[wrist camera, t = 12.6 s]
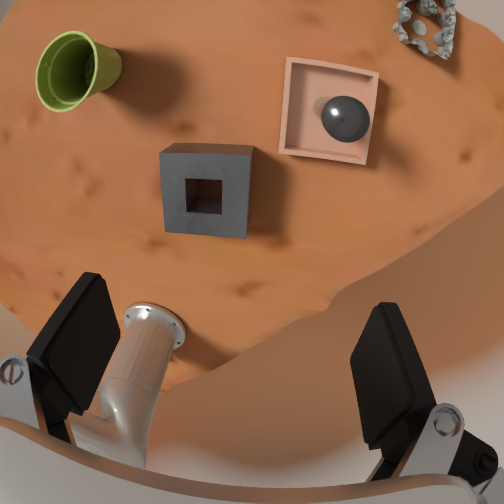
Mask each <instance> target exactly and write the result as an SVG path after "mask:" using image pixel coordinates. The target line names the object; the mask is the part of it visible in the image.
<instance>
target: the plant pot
mask: <svg viewBox="0 0 504 504" xmlns="http://www.w3.org/2000/svg"><path fill="white" fill-rule="evenodd" d="M89 64H90V65H91V66H90V69H89V74H88V66H89ZM121 71H122V59H121V57H120V55H119V54H118V52H117V51H116V50H115V49H113V48H110V47H107V46H104V45H102V44H99V43H96V42H94V41H93V39H92V38H91V37H90V36H89V35H87V34H86V33H83V32H80V31H70V32H66V33H63V34H61V35H60V36H58V37H57V38H55V39H54V40H53V41H52V42H51V43H50V44H49V45H48V46H47V47H46V49H45V50H44V52H43V54H42V56H41V58H40V60H39V63H38V66H37V70H36V88H37V93H38V96H39V98H40V100H41V101H42V103H43V104H44V105H45V106H46V107H47V108H49V109H50V110H52V111H55V112H66V111H69V110H72V109H74V108H76V107H77V106H79V105H80V104H81V103H82V102H83V101H84V100H85V99H86V98H87V97H89V96H91V95H93V94H96V93H98V92H100V91H103V90H105V89H108V88H109V87H111V86H112V85H113V84H114V83H115V82H116V81H117V80H118V78H119V76H120V74H121Z"/></svg>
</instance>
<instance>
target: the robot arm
mask: <svg viewBox="0 0 504 504" xmlns="http://www.w3.org/2000/svg"><path fill="white" fill-rule="evenodd" d="M124 323H125V326H126V328H127V329H126V331H125V333H124V335H123V337H122V339H121V341H120V343H119V346H118V348H117V350H116V352H115V354H114V356H113V358H112V361H111V363H110V365H109V367H108V370H107V372H106V374H105V376H104V379H103V381H102V384H101V386H100V390H99V400H100V403H101V407H102V410H103V413H104V415H105V418H106V419H104V418H101V417H99V416H96V415H94V414H92V413H90V412H88V411H86V410H88V408H89V406H90V404H91V402H92V399H93V397H94V395H95V392H96V390H97V388H98V385H99V383H100V381H101V378H102V376H103V374H104V372H105V369H106V367H107V365H108V363H109V361H110V359H111V356H112V354H113V352H114V350H115V348H116V346H117V344H118V342H119V339H120V328H119V325H118V322H117V319H116V316H115V313H114V309H113V306H112V303H111V299H110V296H109V292H108V289H107V285H106V282H105V280H104V279H102V276H101V275H100V274H97V273H90V272H85V273H83V274H82V276H81V277H80V278H79V279H78V281H77V282H76V283H75V285H74V286H73V287H72V288H71V290H70V291H69V292H68V294H67V295H66V296H65V298H64V299H63V300H62V302H61V303H60V304H59V306H58V307H57V309H56V310H55V311H54V313H53V314H52V316H51V317H50V318H49V320H48V321H47V323H46V324H45V326H44V327H43V329H42V330H41V332H40V333H39V335H38V336H37V338H36V339H35V341H34V342H33V344H32V345H31V347H30V348H29V350H28V352H27V353H26V354H27V356H28V357H27V359H26V360H25V358H24V357H22V356H21V355H16V354H15V355H10V356H8V357H6V358H4V359H3V360H2V361H1V362H0V504H504V470H503V468H502V467H500V468H498V456H497V453H496V452H495V450H494V449H493V448H492V447H491V446H489V445H488V444H486V443H485V442H483V441H482V440H480V439H478V438H477V437H475V436H474V435H472V434H471V433H469V432H467V431H466V430H464V425H465V424H464V418H463V416H462V414H461V412H460V411H459V409H458V408H456V407H455V406H454V405H452V404H449V403H442V404H438V405H437V404H436V401H435V398H434V394H433V392H432V389H431V386H430V383H429V380H428V377H427V375H426V372H425V369H424V367H423V364H422V361H421V359H420V356H419V354H418V351H417V349H416V346H415V344H414V341H413V339H412V336H411V334H410V332H409V329H408V327H407V325H406V322H405V320H404V318H403V316H402V314H401V311H400V309H399V307H398V305H397V304H396V303H391V302H380V303H379V304H378V306H375V307H374V308H373V310H372V312H371V315H370V317H369V319H368V321H367V323H366V326H365V328H364V330H363V332H362V334H361V336H360V338H359V341H358V343H357V345H356V347H355V349H354V351H353V353H352V355H351V358H350V365H351V369H352V375H353V379H354V385H355V390H356V395H357V401H358V407H359V412H360V419H361V425H362V431H363V438H364V442H365V443H366V444H368V445H369V450H373V449H381V452H382V458H381V459H380V461H379V462H378V464H377V465H376V467H375V468H374V470H373V471H372V473H371V474H370V476H369V477H368V479H367V480H366V482H365V483H357V484H349V485H339V486H328V487H312V488H258V487H257V488H256V487H242V486H231V485H221V484H213V483H206V482H200V481H194V480H187V479H182V478H178V477H173V476H168V475H163V474H159V473H155V472H151V471H147V470H145V465H146V454H147V443H148V435H149V430H150V425H151V421H152V417H153V413H154V410H155V406H156V403H157V399H158V396H159V393H160V389H161V386H162V383H163V380H164V376H165V373H166V370H167V367H168V364H169V361H170V357H171V354H172V351H173V349H177V348H179V347H180V346H181V345H182V344H183V343H184V341H185V338H186V330H185V327H184V325H183V324H182V322H181V321H180V320H179V319H178V318H177V317H176V316H175V315H174V314H173V313H171V312H170V311H168V310H167V309H165V308H163V307H160V306H157V305H154V304H150V303H137V304H134V305H132V306H130V307H129V308H128V309H127V311H126V313H125V315H124Z"/></svg>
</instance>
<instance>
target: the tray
mask: <svg viewBox="0 0 504 504" xmlns="http://www.w3.org/2000/svg"><path fill="white" fill-rule="evenodd" d="M378 78H379V73H377V72H373V71H369V70H365V69H361V68H356V67H351V66H346V65H341V64H336V63H330V62H324V61H318V60H311V59H304V58H295V57H286V60H285V73H284V86H283V99H282V111H281V123H280V135H279V146H278V154H288V155H297V156H306V157H314V158H322V159H329V160H336V161H343V162H349V163H356V164H362V165H366V160H367V154H368V149H369V143H370V137H371V131H372V124H373V118H374V111H375V103H376V95H377V87H378ZM336 96H350V97H353V98H356V99H358V100H359V101H361V102H362V103H363V104H364V105H365V107H366V108H367V110H368V112H369V116H370V125H369V129H368V131H367V133H366V134H365V135H364V136H363V137H362V138H361V139H359V140H358V141H355V142H351V143H344V142H340V141H337V140H336V139H334V138H333V137H331V136H330V135H329V134H328V133H327V132H326V130H325V129H324V127H323V125H322V122H321V120H320V119H319V118H317V116H316V115H315V113H314V110H313V106H314V103H315V102H316V100H317V99H319V98H321V97H331V98H333V97H336Z"/></svg>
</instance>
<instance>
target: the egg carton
mask: <svg viewBox="0 0 504 504" xmlns="http://www.w3.org/2000/svg"><path fill="white" fill-rule="evenodd" d="M410 1H413V0H403V1H402V2H400V3H398V7H397V9H398V10H399V11H400V12H399V21H398V22H396V23H394V25H393V30H394V31H395V32H396V33H397V34H398V36H399V40H400V41H401V42H402V43H404V44H411V43H412V44H415V45H416V44H417V45H418V49H419V50H421V51H422V53H423V54H425V55H426V56H436V55H439V56H440V57H442V58H444V59H446V60H448V59H449V58H450V55H451V53H452V48H453V42H454V41H453V40H452V39H453V36H454V28H455V23H456V14H455V8H454V5H455V4H456V1H455V0H440V1H441V4H442V6H443V7H444V8H445V9H446V12H445V13H441V14H439V15H438V16H437V19H438V23H439V24H440V25H441V26H442V32H437V33H435V34H434V42H435V44H436V45H437V46H438V52H429V47H428V45H427V44H426V43H425V42H424V41H423V40H421V39H416V40H411V41H409V40H408V39H409V38H408V34H407V32H405V30H404V29H403V28H402V25H401V24H402V23H404V22H407V21H409V20H410V18H411V14H413V13H412V12H411V11H410V9H409V8H407V7H405V6H404V5H405V4H407V3H408V2H410ZM415 6H416V9H417V11H418V12H419V13H420V14H421V15H423V16H430V15H433V14H438V6H437V4H436V3H435V2H434V1H433V0H420V1H418V2H416V5H415ZM412 29H413V31H414V32H415V33H416V34H417V35H419V36H424V35H426V33H427V29H426V26H425V25H424V23H423V22H421V21H419V20H415V21H413V22H412Z"/></svg>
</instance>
